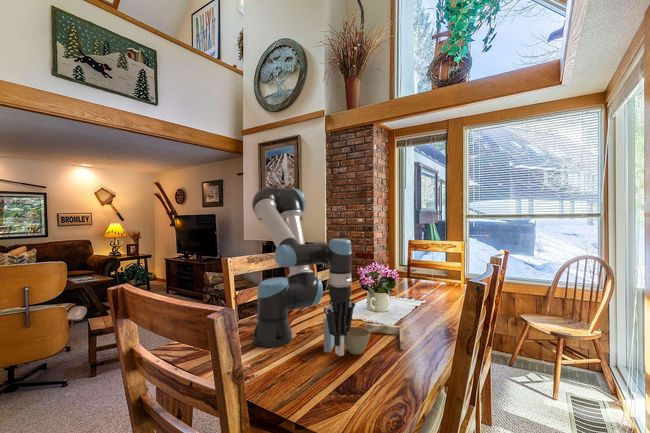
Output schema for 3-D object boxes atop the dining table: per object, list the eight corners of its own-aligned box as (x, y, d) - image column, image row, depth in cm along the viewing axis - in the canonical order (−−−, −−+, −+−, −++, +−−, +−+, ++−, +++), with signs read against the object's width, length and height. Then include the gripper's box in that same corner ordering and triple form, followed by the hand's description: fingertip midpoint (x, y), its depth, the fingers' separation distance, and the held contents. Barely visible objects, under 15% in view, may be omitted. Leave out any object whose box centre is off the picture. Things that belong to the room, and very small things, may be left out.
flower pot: (369, 359, 100) (369, 338, 100) (340, 356, 102) (340, 335, 102) (370, 346, 110) (370, 327, 110) (344, 344, 112) (344, 325, 112)
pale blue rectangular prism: (323, 352, 105) (324, 318, 105) (329, 341, 114) (329, 310, 114) (330, 352, 105) (330, 318, 105) (335, 342, 113) (335, 311, 113)
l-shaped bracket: (361, 345, 111) (361, 337, 111) (365, 330, 126) (365, 323, 126) (404, 350, 107) (404, 341, 107) (403, 333, 122) (403, 326, 122)
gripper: (333, 289, 93) (333, 364, 93) (361, 283, 102) (360, 352, 102) (318, 285, 99) (317, 356, 99) (345, 280, 108) (345, 345, 108)
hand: (339, 354), depth 100 cm, fingers closed
